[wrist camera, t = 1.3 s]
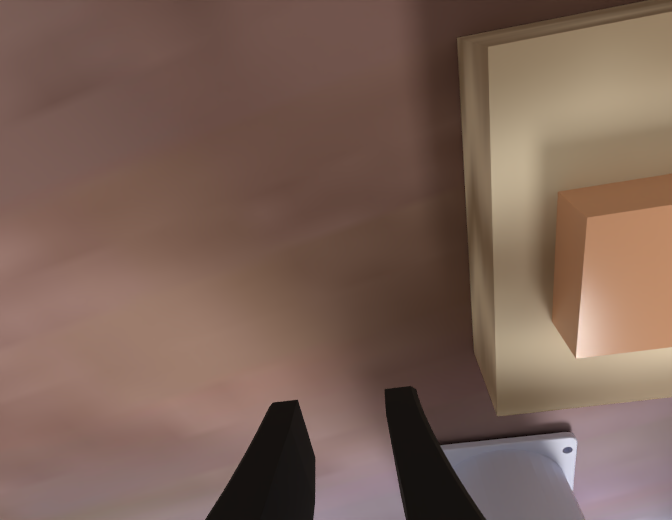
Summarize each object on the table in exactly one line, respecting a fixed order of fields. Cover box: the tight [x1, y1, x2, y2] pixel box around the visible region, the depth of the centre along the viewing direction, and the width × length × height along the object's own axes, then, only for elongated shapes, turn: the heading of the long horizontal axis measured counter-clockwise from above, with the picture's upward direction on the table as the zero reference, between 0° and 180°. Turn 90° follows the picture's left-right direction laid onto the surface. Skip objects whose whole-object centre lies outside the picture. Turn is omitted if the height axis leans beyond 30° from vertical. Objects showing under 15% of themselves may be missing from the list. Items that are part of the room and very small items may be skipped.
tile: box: [552, 174, 672, 359], centre depth 14 cm, size 5×5×2 cm
